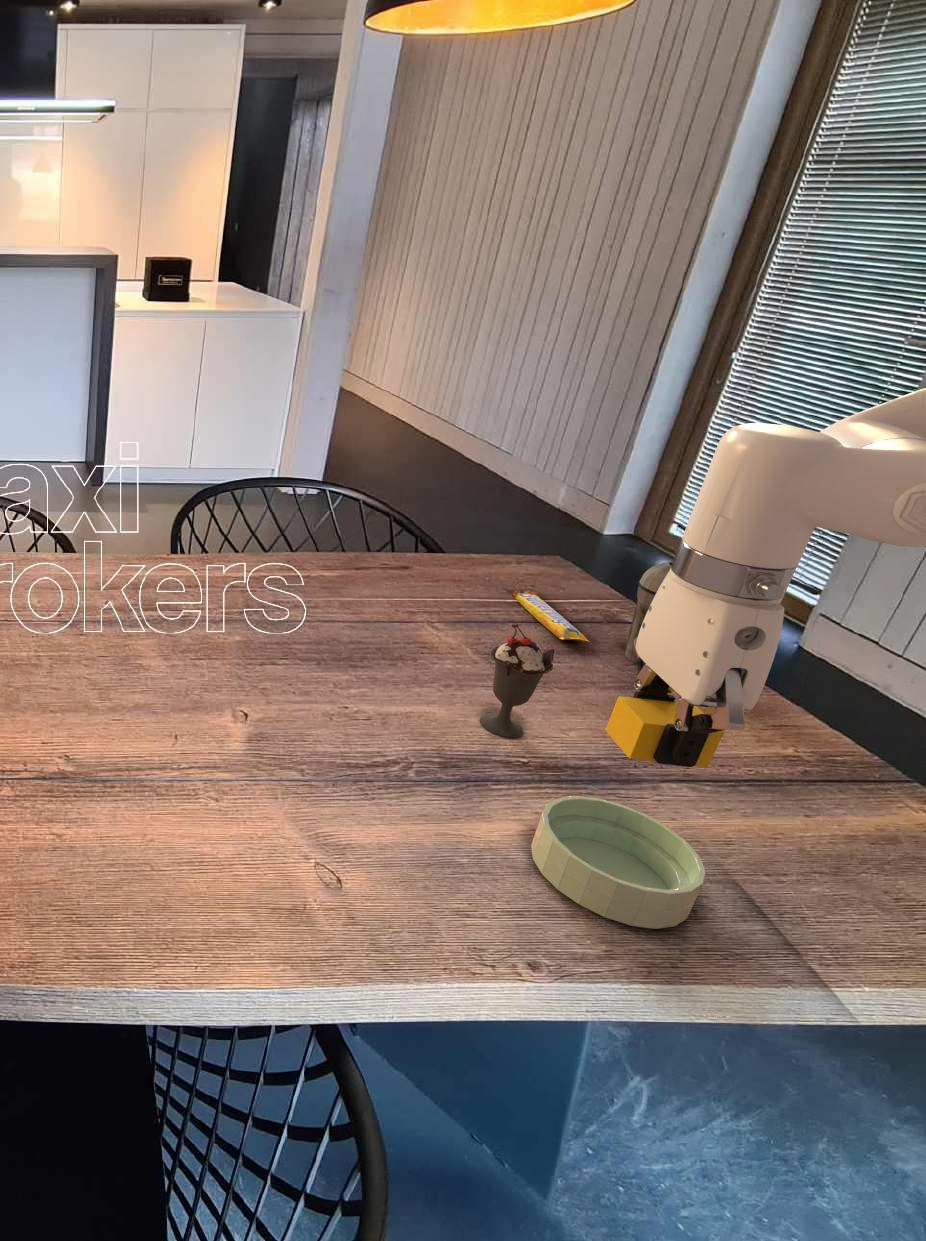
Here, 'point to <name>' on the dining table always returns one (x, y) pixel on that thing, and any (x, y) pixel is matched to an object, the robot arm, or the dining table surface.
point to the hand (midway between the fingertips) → (657, 744)
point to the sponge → (650, 728)
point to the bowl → (617, 862)
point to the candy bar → (548, 616)
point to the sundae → (515, 681)
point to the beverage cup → (645, 602)
